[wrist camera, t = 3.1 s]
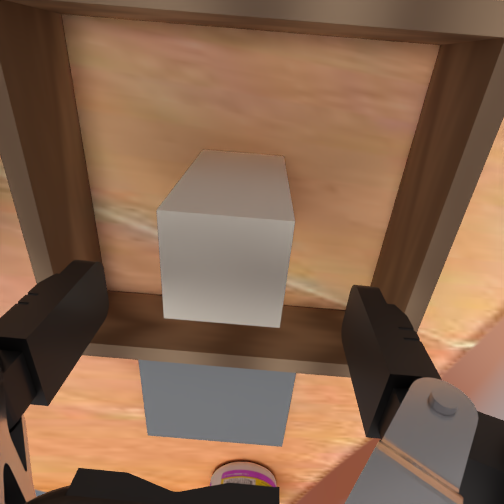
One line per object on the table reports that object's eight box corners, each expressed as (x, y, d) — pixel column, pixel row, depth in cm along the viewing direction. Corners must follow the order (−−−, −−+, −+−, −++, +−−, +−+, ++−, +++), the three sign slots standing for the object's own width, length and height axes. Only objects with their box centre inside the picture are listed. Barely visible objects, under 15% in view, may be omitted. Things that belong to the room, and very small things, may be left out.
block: (203, 223, 21) (163, 318, 13) (202, 149, 19) (156, 209, 11) (275, 229, 21) (279, 327, 13) (283, 156, 19) (295, 221, 11)
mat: (150, 426, 31) (147, 435, 30) (138, 325, 25) (135, 333, 25) (281, 438, 31) (281, 446, 30) (300, 339, 25) (300, 347, 25)
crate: (94, 301, 24) (56, 352, 20) (34, -15, 16) (-57, -46, 11) (373, 324, 24) (397, 381, 20) (470, 21, 16) (549, 4, 11)
